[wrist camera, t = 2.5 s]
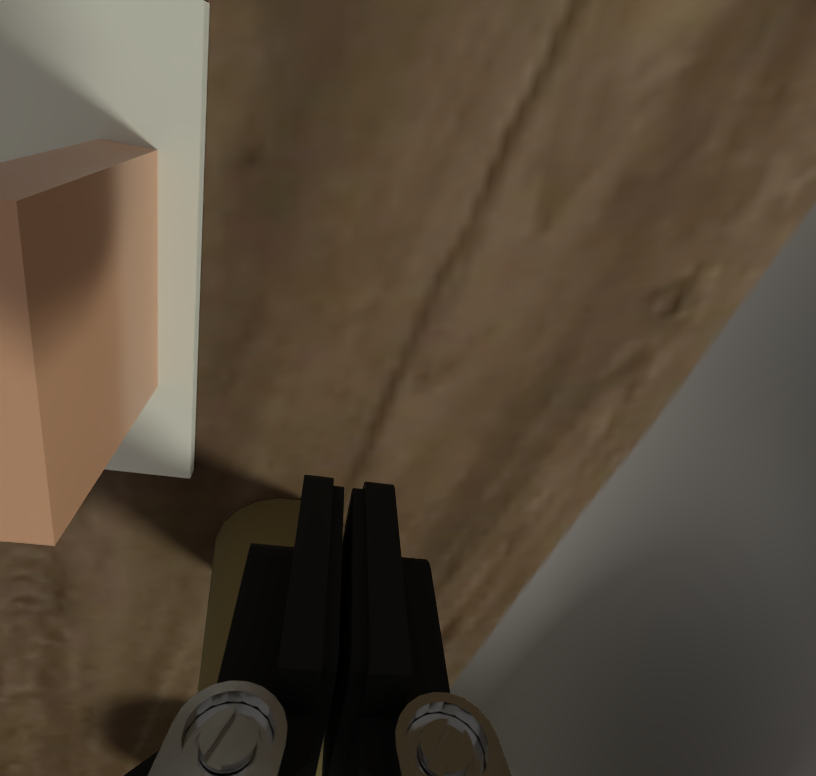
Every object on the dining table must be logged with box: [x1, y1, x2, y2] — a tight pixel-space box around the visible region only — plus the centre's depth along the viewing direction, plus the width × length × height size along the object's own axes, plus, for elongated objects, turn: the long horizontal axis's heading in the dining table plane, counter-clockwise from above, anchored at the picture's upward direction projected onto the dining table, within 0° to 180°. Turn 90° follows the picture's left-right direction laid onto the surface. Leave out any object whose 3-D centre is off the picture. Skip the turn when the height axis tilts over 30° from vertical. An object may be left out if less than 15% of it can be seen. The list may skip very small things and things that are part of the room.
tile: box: [0, 139, 158, 546], centre depth 15 cm, size 8×2×8 cm, turn 169°
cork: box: [198, 498, 345, 776], centre depth 21 cm, size 6×6×11 cm
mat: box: [0, 0, 210, 479], centre depth 18 cm, size 16×12×1 cm
